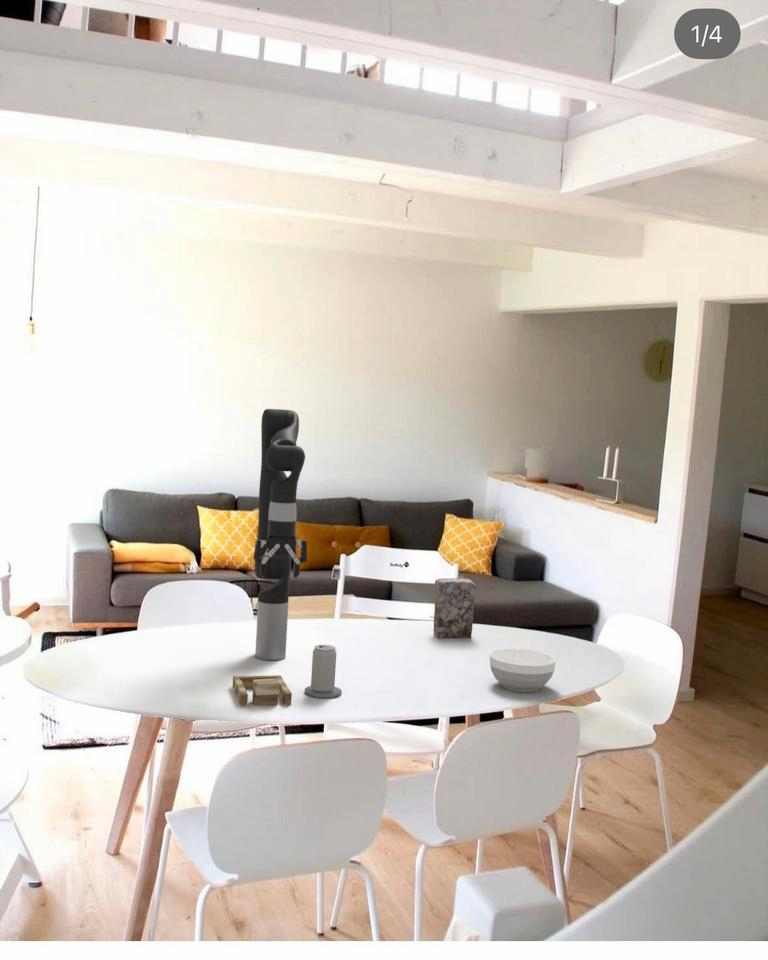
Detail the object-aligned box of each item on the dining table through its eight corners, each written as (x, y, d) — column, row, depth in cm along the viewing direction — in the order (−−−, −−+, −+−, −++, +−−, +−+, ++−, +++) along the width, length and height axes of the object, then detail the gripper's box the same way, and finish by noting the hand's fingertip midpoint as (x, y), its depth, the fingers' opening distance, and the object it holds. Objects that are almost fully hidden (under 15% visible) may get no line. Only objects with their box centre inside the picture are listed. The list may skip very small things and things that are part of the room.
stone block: (438, 639, 346) (441, 581, 345) (430, 634, 353) (434, 577, 351) (473, 638, 351) (477, 581, 349) (465, 634, 357) (469, 577, 356)
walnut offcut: (252, 701, 266) (252, 690, 266) (275, 701, 268) (275, 690, 267) (254, 706, 262) (254, 695, 262) (277, 706, 264) (277, 694, 264)
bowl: (517, 674, 308) (519, 645, 307) (567, 690, 294) (569, 660, 293) (474, 683, 295) (476, 653, 294) (524, 700, 281) (526, 669, 280)
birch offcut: (252, 691, 266) (253, 679, 265) (274, 689, 268) (275, 678, 268) (256, 695, 262) (257, 684, 262) (279, 694, 264) (279, 682, 264)
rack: (232, 687, 277) (233, 676, 277) (279, 686, 281) (280, 675, 281) (241, 706, 261) (241, 694, 261) (291, 704, 265) (291, 693, 265)
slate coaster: (301, 688, 280) (301, 685, 280) (336, 687, 283) (336, 684, 283) (308, 699, 270) (308, 696, 270) (345, 698, 273) (345, 695, 273)
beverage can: (321, 685, 281) (324, 642, 280) (339, 690, 277) (341, 647, 276) (305, 689, 276) (308, 646, 275) (323, 695, 272) (325, 650, 271)
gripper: (305, 517, 283) (302, 575, 285) (254, 516, 279) (251, 574, 281) (310, 520, 276) (307, 580, 277) (258, 519, 272) (255, 579, 273)
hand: (279, 577), depth 279 cm, fingers open, 8 cm apart
